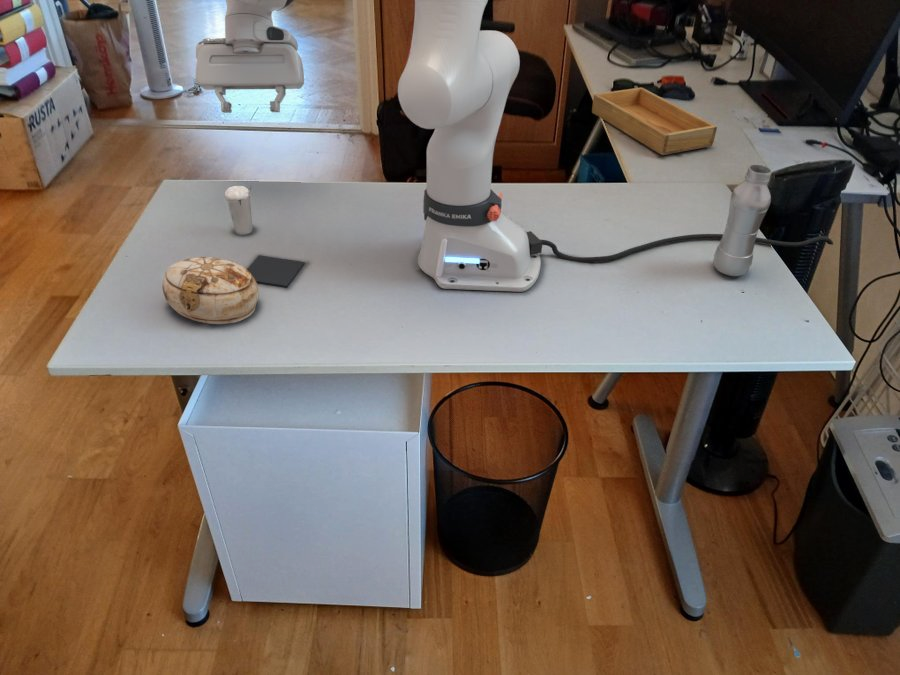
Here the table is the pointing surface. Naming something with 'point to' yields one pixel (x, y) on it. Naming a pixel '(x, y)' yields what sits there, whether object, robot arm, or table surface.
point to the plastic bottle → (743, 222)
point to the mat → (274, 270)
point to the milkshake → (240, 208)
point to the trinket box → (210, 290)
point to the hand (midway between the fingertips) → (250, 112)
